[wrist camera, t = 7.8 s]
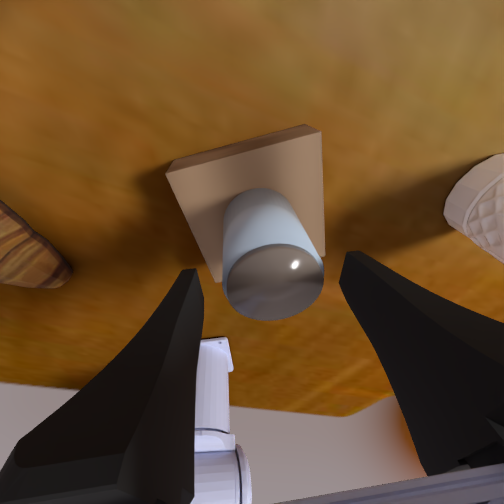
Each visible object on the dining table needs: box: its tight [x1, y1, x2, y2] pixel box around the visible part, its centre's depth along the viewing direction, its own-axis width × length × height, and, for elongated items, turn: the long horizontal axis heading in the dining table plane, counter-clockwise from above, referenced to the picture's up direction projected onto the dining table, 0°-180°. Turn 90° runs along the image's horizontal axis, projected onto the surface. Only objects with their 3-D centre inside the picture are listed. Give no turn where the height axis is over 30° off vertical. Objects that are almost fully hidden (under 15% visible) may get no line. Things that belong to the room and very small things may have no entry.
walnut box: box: [165, 124, 325, 283], centre depth 16 cm, size 9×9×3 cm
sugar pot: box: [222, 188, 324, 320], centre depth 13 cm, size 5×5×6 cm
